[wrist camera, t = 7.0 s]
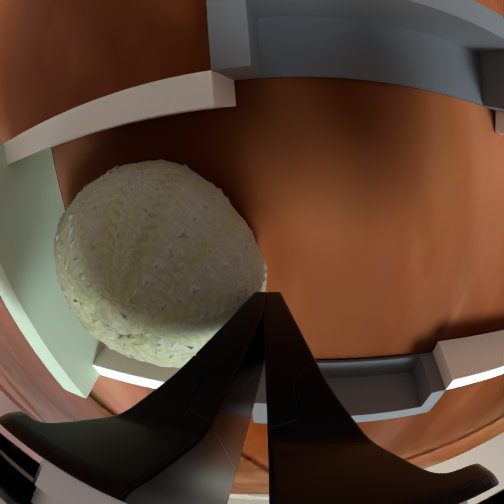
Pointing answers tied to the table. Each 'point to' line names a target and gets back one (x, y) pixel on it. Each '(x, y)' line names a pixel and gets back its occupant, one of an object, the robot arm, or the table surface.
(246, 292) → the sea urchin shell
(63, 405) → the table surface
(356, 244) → the table surface
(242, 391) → the robot arm
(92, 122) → the trap lane
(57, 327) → the end block
